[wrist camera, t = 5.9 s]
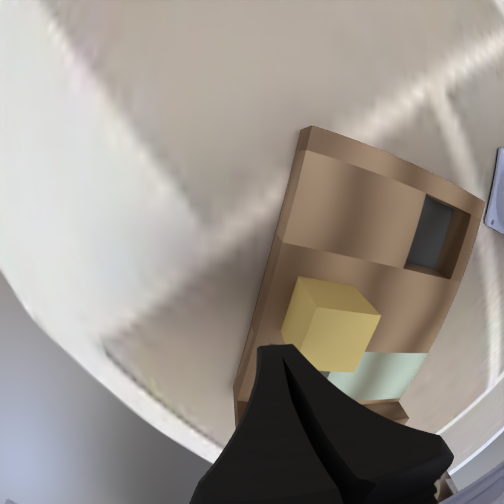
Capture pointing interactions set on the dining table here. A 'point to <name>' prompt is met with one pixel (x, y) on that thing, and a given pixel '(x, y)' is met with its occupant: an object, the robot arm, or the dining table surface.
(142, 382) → the dining table surface
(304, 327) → the cube
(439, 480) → the coffee box
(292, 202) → the board
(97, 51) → the dining table surface
